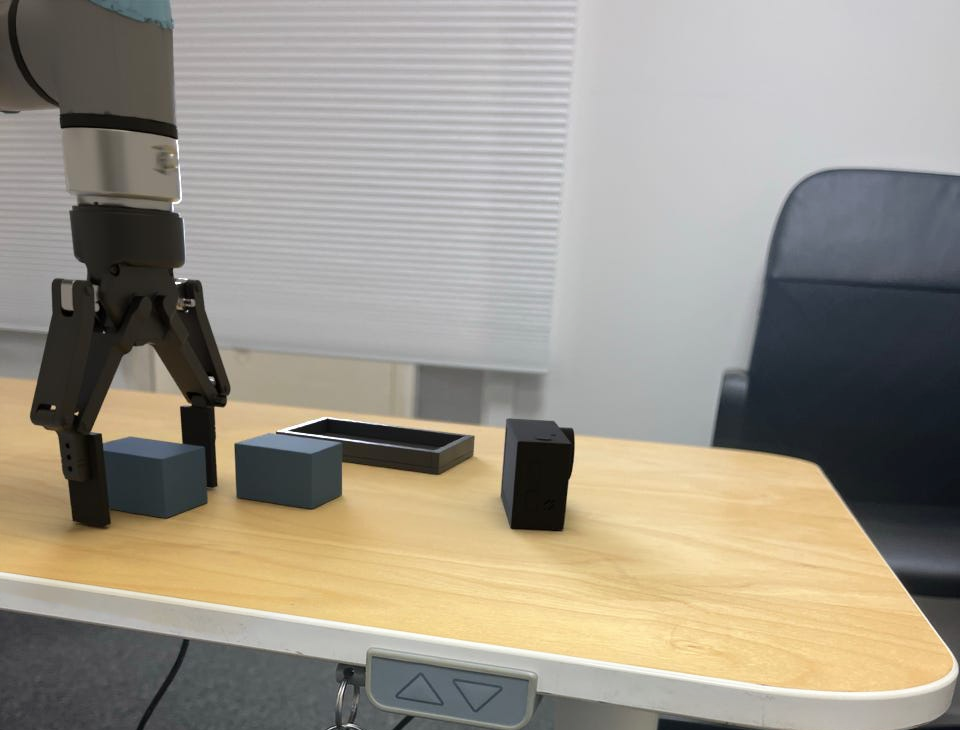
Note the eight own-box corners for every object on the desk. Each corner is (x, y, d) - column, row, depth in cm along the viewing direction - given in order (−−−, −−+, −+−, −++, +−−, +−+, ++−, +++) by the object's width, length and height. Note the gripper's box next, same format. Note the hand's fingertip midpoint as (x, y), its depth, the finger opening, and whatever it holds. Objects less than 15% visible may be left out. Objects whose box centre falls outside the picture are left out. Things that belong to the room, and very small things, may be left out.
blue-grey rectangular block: (236, 497, 76) (233, 443, 74) (270, 484, 81) (268, 432, 79) (312, 509, 74) (311, 453, 72) (342, 495, 79) (342, 442, 77)
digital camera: (578, 532, 73) (588, 443, 70) (510, 529, 72) (517, 440, 70) (560, 499, 82) (568, 420, 80) (500, 496, 82) (506, 416, 79)
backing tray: (275, 452, 93) (275, 431, 92) (324, 435, 102) (324, 416, 102) (438, 474, 88) (439, 452, 88) (473, 455, 98) (474, 435, 97)
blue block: (88, 505, 71) (82, 447, 69) (134, 491, 76) (129, 436, 74) (166, 518, 69) (161, 459, 67) (208, 502, 74) (205, 446, 72)
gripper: (38, 193, 52) (80, 551, 60) (266, 217, 74) (274, 477, 82) (-66, 187, 54) (-12, 535, 62) (186, 213, 76) (201, 467, 84)
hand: (151, 503), depth 72 cm, fingers open, 13 cm apart
